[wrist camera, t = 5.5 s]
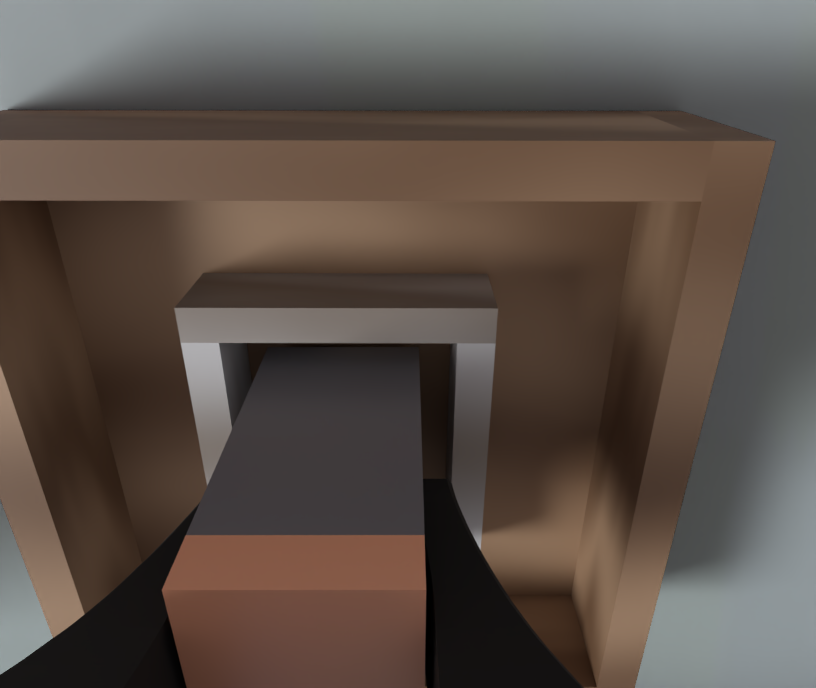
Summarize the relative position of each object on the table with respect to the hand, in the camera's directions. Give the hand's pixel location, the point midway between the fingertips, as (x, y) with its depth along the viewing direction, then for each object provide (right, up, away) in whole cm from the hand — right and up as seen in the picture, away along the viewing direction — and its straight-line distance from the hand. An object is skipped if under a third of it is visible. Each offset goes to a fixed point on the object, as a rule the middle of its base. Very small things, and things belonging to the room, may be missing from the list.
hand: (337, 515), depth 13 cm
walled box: (0, +2, +4) cm, 5 cm away
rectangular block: (0, +1, +2) cm, 3 cm away
